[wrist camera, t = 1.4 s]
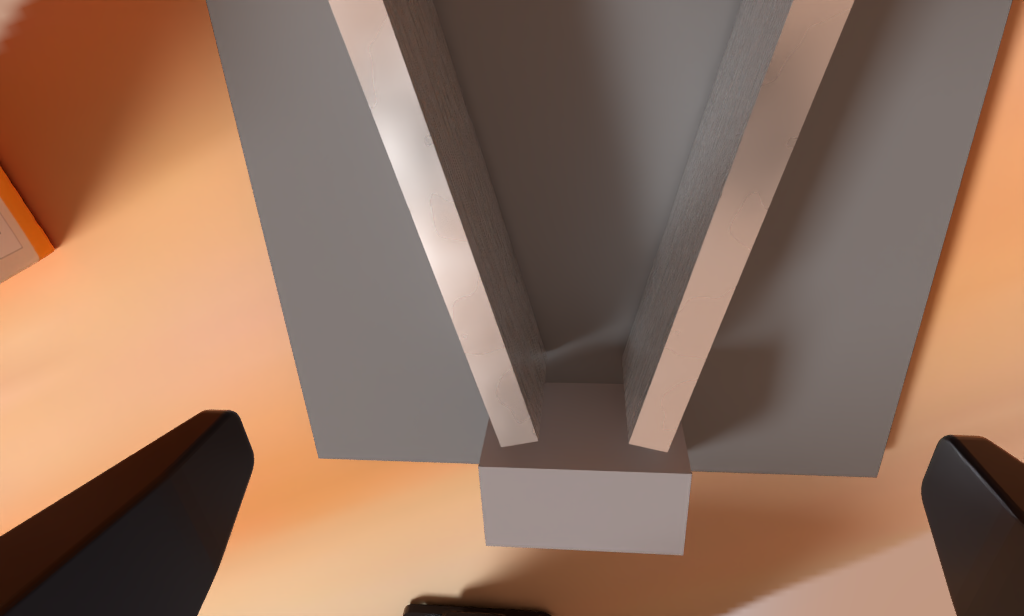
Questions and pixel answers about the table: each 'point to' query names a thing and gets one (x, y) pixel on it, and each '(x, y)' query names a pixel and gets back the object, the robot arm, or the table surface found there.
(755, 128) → the tong leg
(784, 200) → the tong mat
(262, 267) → the table surface
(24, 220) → the supplement box
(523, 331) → the tong leg
